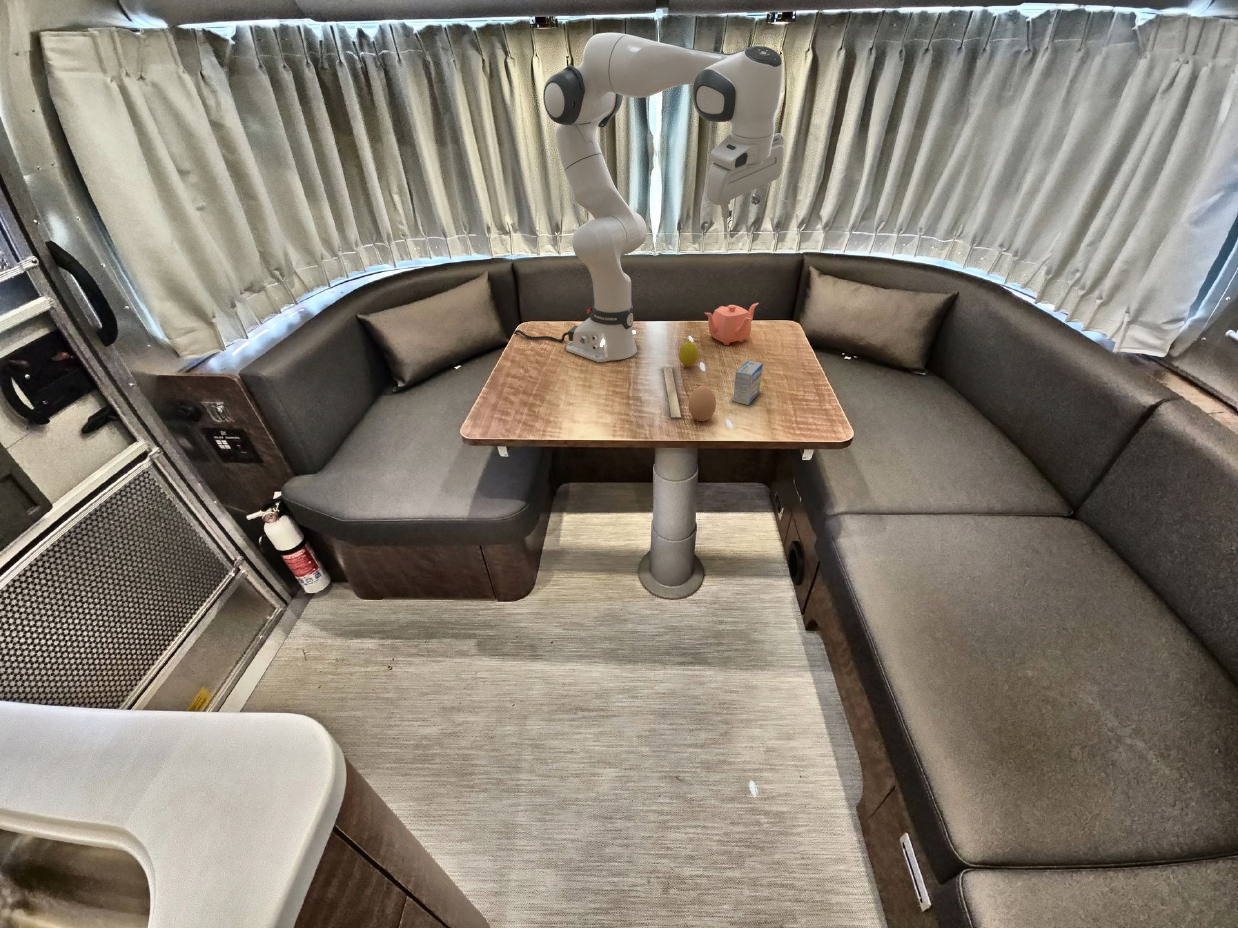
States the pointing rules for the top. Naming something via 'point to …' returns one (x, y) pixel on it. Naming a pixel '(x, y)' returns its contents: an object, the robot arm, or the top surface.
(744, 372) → the medicine box
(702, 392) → the egg
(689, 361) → the lemon
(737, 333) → the teapot
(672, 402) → the strip
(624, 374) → the top surface
